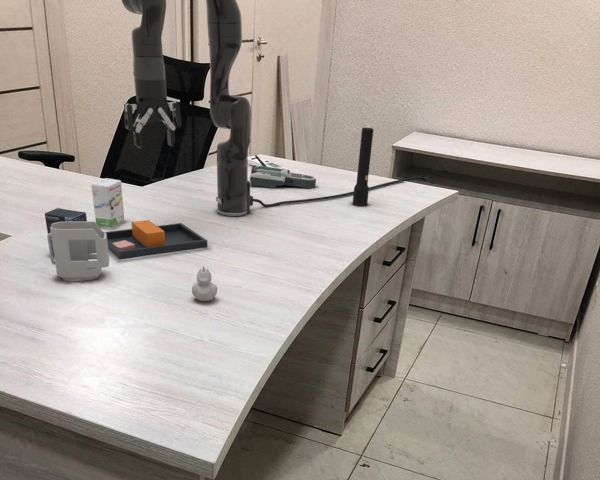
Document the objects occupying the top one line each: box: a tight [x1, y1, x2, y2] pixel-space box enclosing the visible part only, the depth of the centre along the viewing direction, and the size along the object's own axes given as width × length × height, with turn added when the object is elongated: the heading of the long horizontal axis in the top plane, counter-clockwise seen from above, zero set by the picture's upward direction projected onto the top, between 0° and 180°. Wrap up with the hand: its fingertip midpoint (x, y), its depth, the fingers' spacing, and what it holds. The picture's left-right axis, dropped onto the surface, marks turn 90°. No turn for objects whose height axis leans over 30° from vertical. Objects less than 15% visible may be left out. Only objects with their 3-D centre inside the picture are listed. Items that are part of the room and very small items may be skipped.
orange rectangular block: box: [131, 219, 165, 248], centre depth 162 cm, size 5×11×5 cm, turn 33°
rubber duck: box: [191, 265, 218, 302], centre depth 135 cm, size 5×7×8 cm
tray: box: [98, 222, 208, 260], centre depth 164 cm, size 24×17×2 cm
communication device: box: [249, 154, 317, 189], centre depth 226 cm, size 12×24×9 cm, turn 89°
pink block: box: [113, 240, 135, 251], centre depth 160 cm, size 4×4×1 cm
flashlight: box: [352, 127, 374, 207], centre depth 205 cm, size 5×24×5 cm
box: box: [44, 207, 88, 257], centre depth 152 cm, size 8×6×11 cm
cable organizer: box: [46, 220, 110, 281], centre depth 140 cm, size 7×12×12 cm, turn 103°
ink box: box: [90, 177, 126, 228], centre depth 175 cm, size 8×5×12 cm, turn 167°
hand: (155, 146), depth 161 cm, fingers open, 8 cm apart
